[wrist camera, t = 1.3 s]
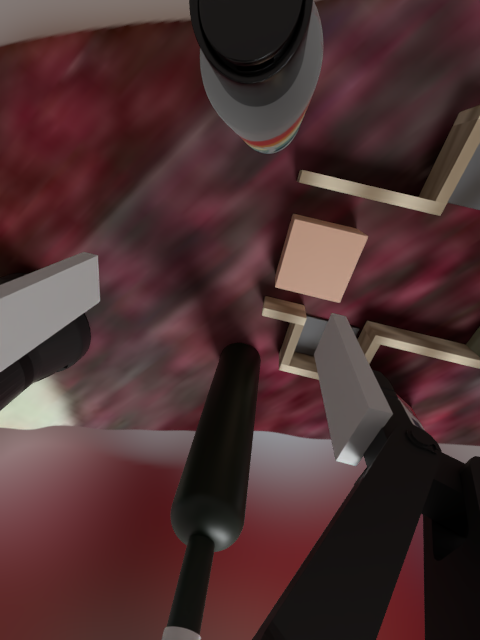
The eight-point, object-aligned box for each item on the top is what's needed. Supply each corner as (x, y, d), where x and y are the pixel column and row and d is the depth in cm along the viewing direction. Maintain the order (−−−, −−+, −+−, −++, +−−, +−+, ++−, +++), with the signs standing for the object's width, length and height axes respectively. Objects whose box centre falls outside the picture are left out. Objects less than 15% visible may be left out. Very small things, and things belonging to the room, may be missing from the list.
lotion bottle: (243, 158, 27) (178, 127, 10) (236, 86, 25) (129, -135, 7) (301, 149, 26) (345, 97, 9) (300, 73, 24) (360, -218, 6)
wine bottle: (216, 367, 40) (96, 728, 14) (227, 336, 37) (106, 717, 11) (252, 380, 40) (201, 758, 14) (266, 351, 38) (237, 754, 11)
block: (275, 273, 33) (275, 287, 29) (292, 213, 29) (294, 219, 25) (332, 287, 32) (339, 302, 29) (356, 228, 29) (368, 236, 25)
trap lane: (251, 347, 38) (248, 362, 35) (324, 81, 24) (331, 66, 21) (437, 393, 37) (451, 412, 34) (625, 150, 23) (677, 146, 20)
